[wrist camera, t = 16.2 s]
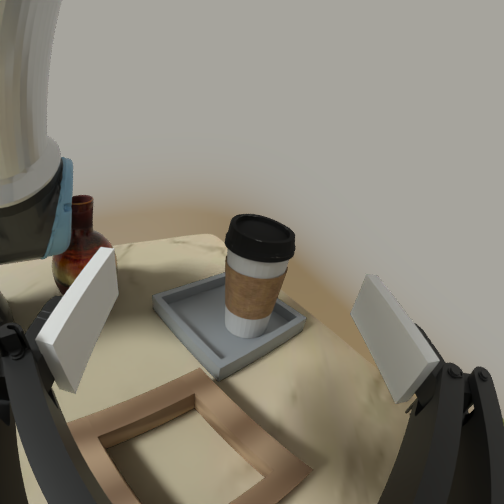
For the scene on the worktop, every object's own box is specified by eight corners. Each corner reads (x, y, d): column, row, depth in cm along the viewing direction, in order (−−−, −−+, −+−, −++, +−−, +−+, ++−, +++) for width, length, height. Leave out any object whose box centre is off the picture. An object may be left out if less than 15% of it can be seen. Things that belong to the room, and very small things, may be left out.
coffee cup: (242, 299, 44) (256, 209, 38) (285, 325, 40) (311, 230, 33) (203, 321, 38) (211, 219, 32) (249, 355, 34) (272, 247, 27)
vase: (129, 281, 45) (129, 194, 38) (98, 320, 35) (87, 217, 28) (80, 267, 45) (74, 186, 38) (45, 299, 35) (29, 206, 28)
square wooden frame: (75, 436, 19) (65, 423, 17) (199, 383, 29) (199, 367, 28) (168, 569, 9) (163, 571, 8) (303, 478, 20) (313, 469, 18)
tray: (152, 308, 40) (152, 295, 39) (233, 281, 50) (234, 269, 49) (218, 381, 30) (219, 368, 29) (302, 330, 41) (306, 317, 40)
